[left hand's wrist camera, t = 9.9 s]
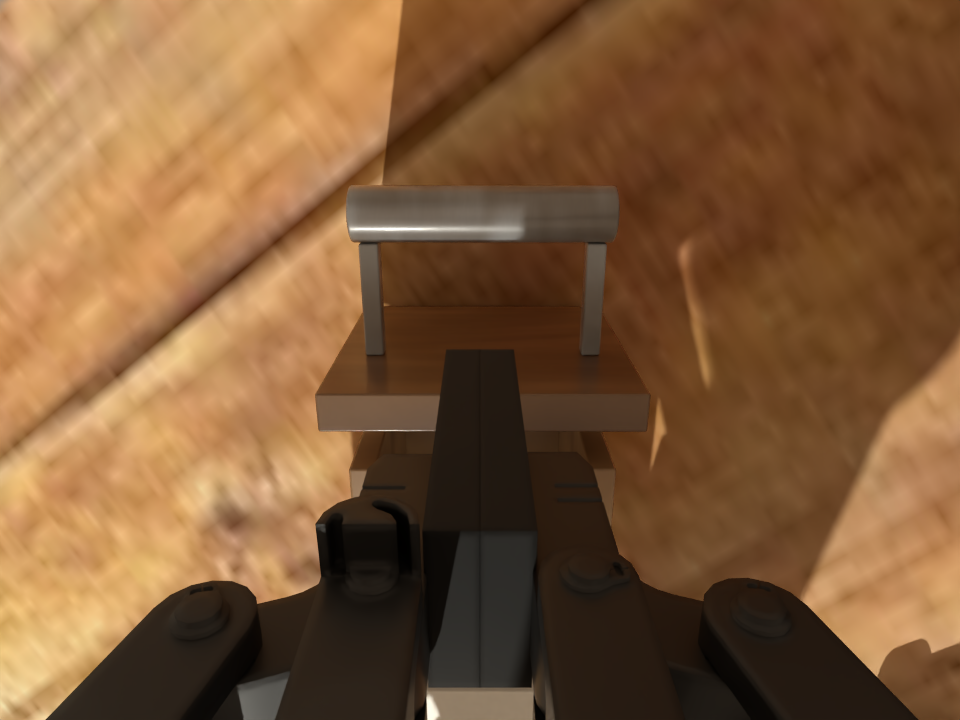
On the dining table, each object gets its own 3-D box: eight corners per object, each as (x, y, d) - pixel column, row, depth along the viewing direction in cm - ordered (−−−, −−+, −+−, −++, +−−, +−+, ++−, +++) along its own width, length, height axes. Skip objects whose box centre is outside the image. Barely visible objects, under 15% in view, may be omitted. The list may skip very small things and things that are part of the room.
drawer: (356, 169, 25) (295, 200, 17) (608, 169, 25) (670, 200, 17) (387, 642, 33) (356, 819, 25) (576, 642, 33) (608, 820, 25)
